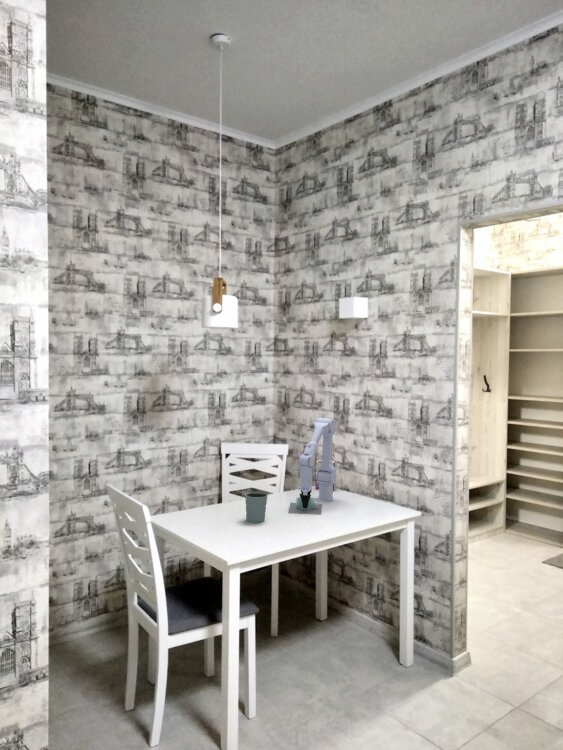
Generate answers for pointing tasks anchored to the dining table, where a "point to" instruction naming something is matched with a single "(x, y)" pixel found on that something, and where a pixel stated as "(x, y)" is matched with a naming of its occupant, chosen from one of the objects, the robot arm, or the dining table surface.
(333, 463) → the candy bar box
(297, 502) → the teal plug
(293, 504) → the charcoal mat
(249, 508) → the teal cup
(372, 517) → the dining table surface
